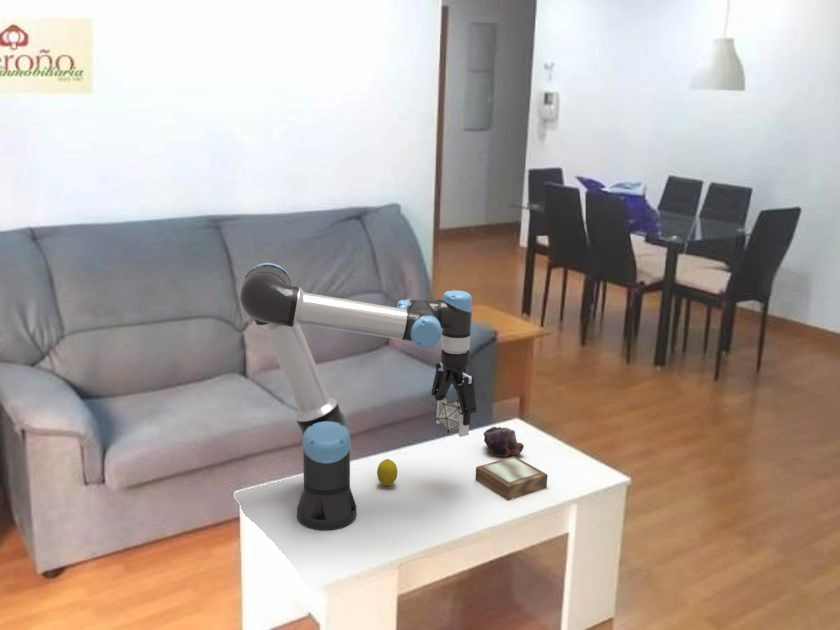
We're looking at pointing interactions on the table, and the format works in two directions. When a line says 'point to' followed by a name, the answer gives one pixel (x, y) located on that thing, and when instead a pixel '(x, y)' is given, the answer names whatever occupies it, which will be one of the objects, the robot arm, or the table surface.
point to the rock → (502, 442)
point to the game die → (450, 415)
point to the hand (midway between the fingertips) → (452, 428)
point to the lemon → (387, 472)
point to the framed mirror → (511, 477)
